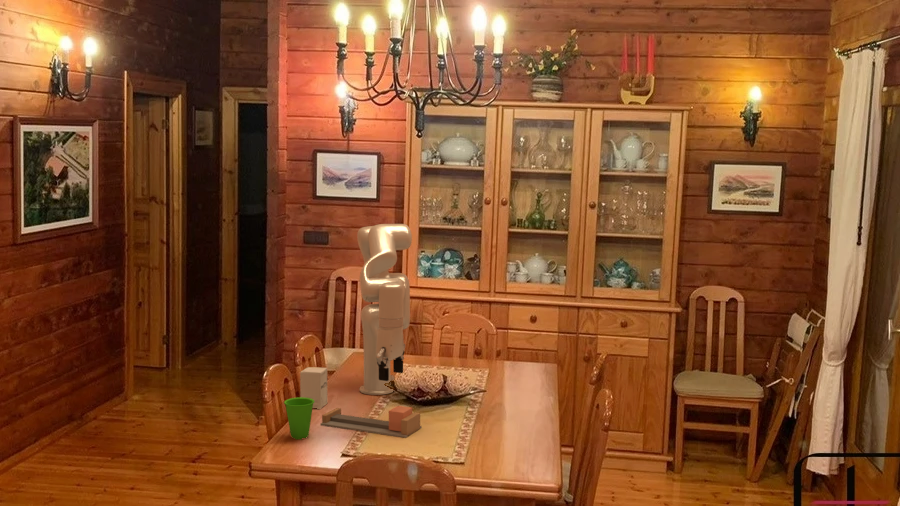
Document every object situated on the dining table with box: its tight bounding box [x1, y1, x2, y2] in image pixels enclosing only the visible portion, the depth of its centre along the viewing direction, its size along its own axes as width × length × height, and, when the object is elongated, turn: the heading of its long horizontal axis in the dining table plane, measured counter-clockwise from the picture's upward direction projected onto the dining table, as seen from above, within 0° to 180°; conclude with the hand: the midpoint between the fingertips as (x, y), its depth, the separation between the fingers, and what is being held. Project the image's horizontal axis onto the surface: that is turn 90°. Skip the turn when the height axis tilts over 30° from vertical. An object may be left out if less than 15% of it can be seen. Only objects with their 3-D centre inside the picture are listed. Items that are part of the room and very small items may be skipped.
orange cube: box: [388, 405, 413, 431], centre depth 281 cm, size 6×5×6 cm
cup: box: [283, 396, 315, 440], centre depth 275 cm, size 9×9×11 cm
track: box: [320, 407, 422, 439], centre depth 285 cm, size 11×30×5 cm, turn 66°
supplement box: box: [299, 366, 328, 410], centre depth 307 cm, size 7×7×13 cm
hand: (391, 376), depth 283 cm, fingers open, 9 cm apart
